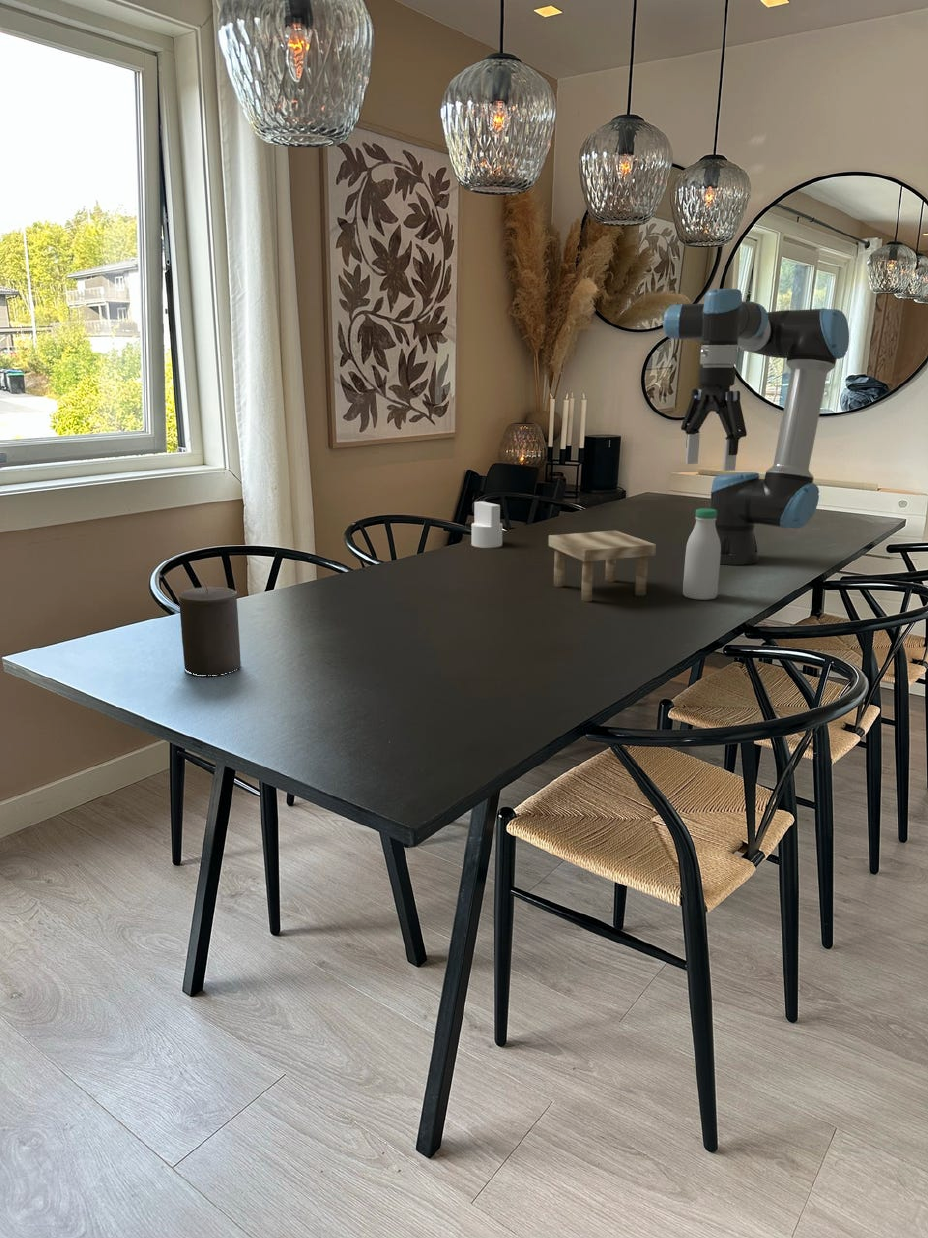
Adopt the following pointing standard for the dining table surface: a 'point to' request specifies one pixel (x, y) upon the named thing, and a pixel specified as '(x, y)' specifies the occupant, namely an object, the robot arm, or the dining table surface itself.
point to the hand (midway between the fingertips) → (709, 467)
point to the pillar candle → (210, 630)
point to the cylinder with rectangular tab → (486, 525)
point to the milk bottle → (702, 558)
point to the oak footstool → (600, 556)
